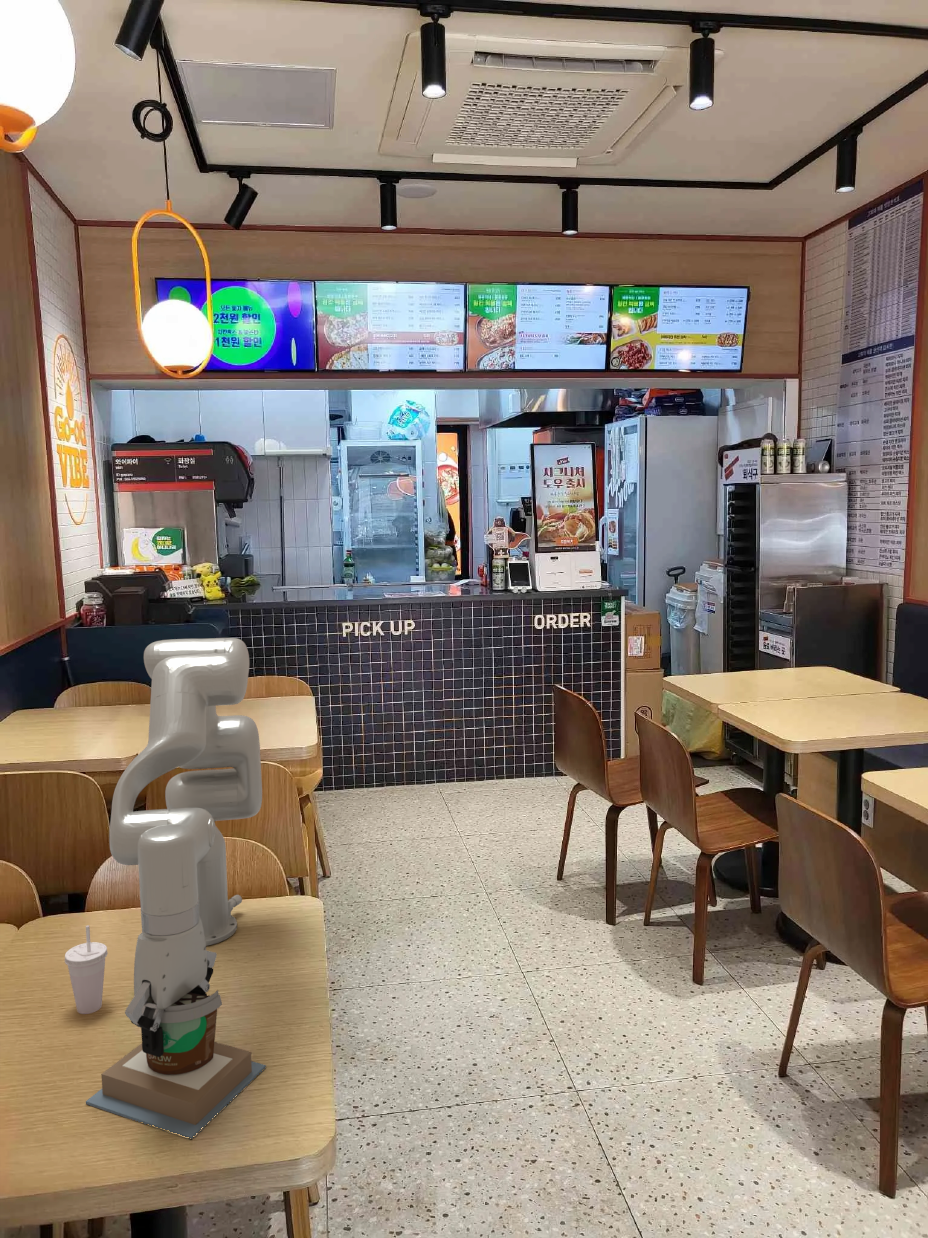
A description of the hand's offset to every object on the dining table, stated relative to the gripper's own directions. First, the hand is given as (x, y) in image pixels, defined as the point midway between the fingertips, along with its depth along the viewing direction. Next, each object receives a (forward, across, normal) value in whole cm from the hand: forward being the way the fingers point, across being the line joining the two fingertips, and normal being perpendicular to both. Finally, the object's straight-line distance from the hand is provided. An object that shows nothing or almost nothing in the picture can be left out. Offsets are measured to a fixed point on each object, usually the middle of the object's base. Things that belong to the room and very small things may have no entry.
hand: (176, 1035), depth 123 cm
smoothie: (+8, -10, -27) cm, 30 cm away
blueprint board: (+8, 0, 0) cm, 8 cm away
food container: (+4, +1, 0) cm, 4 cm away
